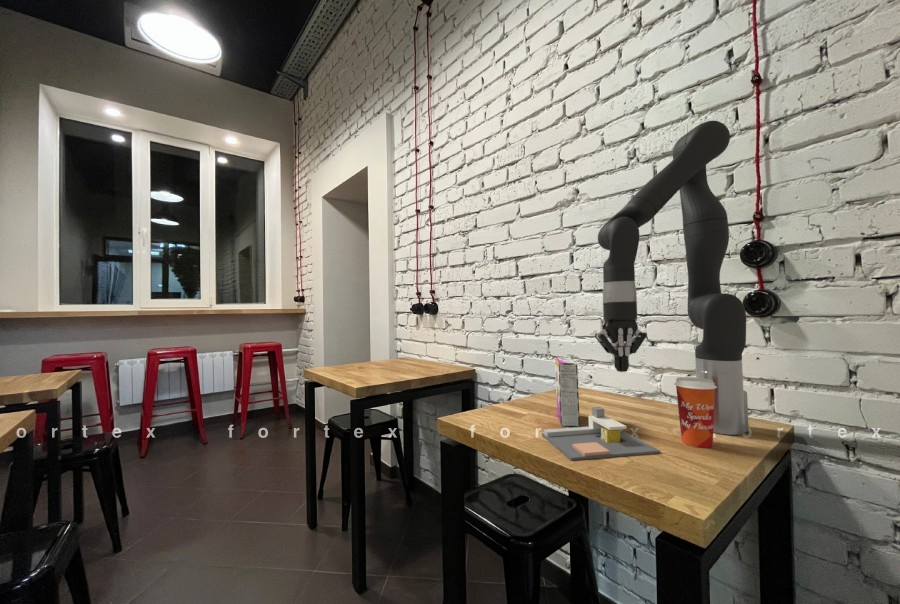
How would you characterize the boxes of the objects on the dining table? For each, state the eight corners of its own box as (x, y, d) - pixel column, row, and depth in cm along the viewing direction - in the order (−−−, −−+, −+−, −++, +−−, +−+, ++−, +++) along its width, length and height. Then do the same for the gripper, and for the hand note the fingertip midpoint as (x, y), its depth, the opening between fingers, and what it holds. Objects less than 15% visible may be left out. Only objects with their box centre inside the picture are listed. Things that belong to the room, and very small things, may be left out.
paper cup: (680, 447, 76) (678, 381, 76) (673, 435, 83) (670, 375, 84) (725, 452, 73) (722, 383, 74) (713, 439, 80) (710, 377, 81)
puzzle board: (617, 430, 88) (617, 423, 88) (660, 453, 73) (660, 445, 73) (541, 435, 85) (541, 429, 85) (571, 460, 70) (570, 452, 70)
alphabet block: (613, 438, 82) (613, 425, 82) (620, 443, 79) (620, 429, 79) (600, 438, 82) (600, 425, 82) (607, 444, 79) (606, 430, 79)
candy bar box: (555, 414, 102) (554, 357, 103) (574, 414, 101) (572, 357, 102) (559, 426, 91) (558, 362, 92) (580, 427, 90) (578, 362, 91)
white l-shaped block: (604, 425, 87) (603, 406, 87) (626, 437, 78) (626, 416, 78) (588, 426, 86) (588, 407, 86) (610, 439, 77) (609, 418, 78)
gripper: (634, 300, 92) (636, 367, 91) (586, 301, 90) (588, 370, 89) (654, 299, 84) (657, 372, 84) (603, 300, 83) (605, 375, 82)
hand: (621, 371), depth 87 cm, fingers closed
